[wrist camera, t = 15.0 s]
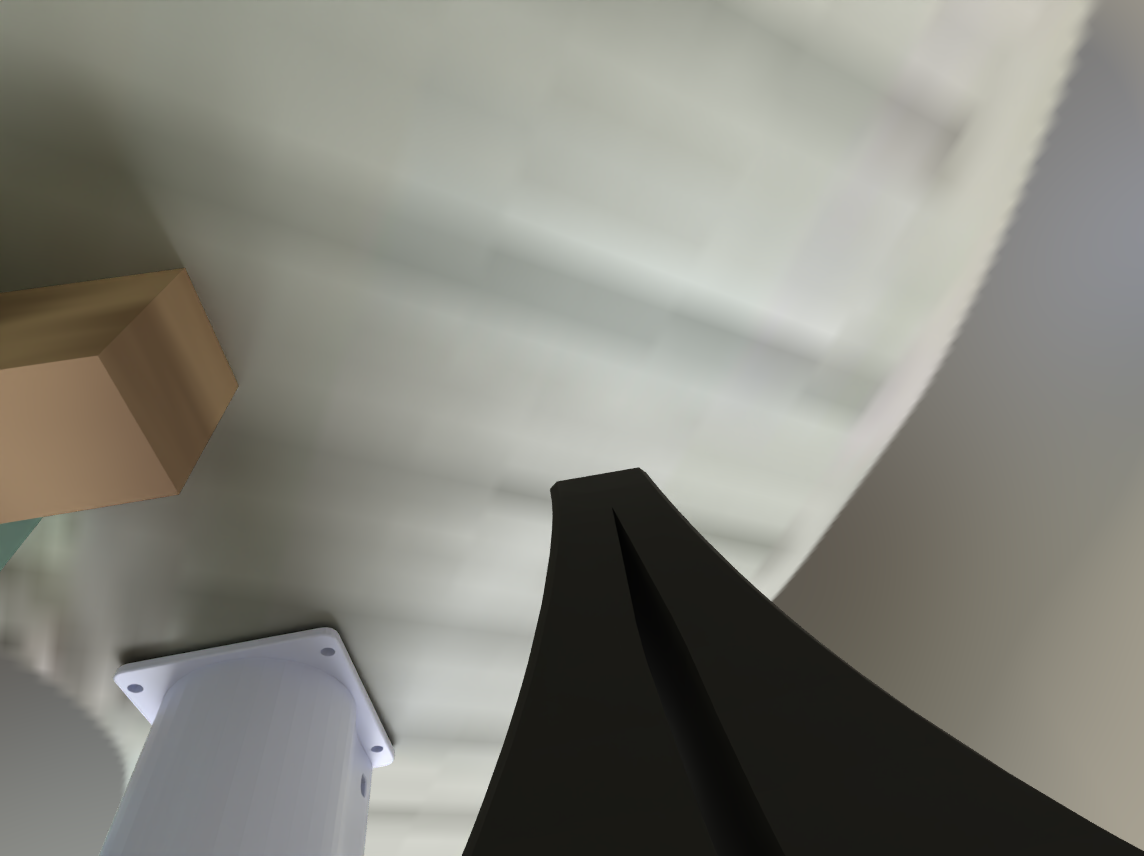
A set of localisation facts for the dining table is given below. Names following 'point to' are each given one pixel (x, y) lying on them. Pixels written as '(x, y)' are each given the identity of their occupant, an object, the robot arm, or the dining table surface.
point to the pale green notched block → (14, 537)
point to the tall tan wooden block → (105, 392)
